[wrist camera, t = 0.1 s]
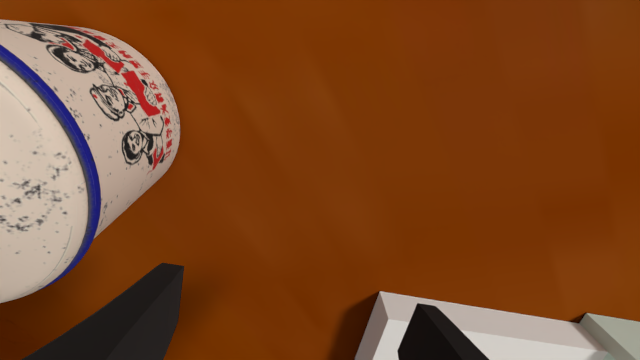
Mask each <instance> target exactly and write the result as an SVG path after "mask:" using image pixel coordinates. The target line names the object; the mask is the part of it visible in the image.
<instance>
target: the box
mask: <svg viewBox="0 0 640 360" xmlns="http://www.w3.org/2000/svg"><path fill="white" fill-rule="evenodd" d="M579 324H580V325H581V326H582V327H583V328H584V329H585V330H586V331H587V332H588V333H589V334H590V335H591V336H592V337H593V338H594V339H595V340H596V341H597V342H598V343H600V344H601V345H602V346H603V347H604V348H605V349H606V350H607V351H608V353H607V355H606V356H605V357H604V359H603V360H640V322H637V321H631V320H625V319H619V318H613V317H607V316H601V315H595V314H589V313H586V314H585V315H584V317H583V319H582V320H581V322H580V323H579Z"/></svg>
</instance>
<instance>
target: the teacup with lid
mask: <svg viewBox="0 0 640 360" xmlns="http://www.w3.org/2000/svg"><path fill="white" fill-rule="evenodd" d="M179 140H180V120H179V114H178V110H177V106H176V103H175V100H174V98H173V95H172V93H171V91H170V89H169V87H168V86H167V84H166V82H165V80H164V79H163V78H162V76H161V75H160V73H159V72H158V71H157V70H156V68H155V67H154V66H153V65H152V64H151V63H150V62H149V61H148V60H147V59H146V58H145V57H144V56H143V55H142V54H140V53H139V52H138V51H137V50H135V49H134V48H132V47H131V46H129V45H128V44H126V43H125V42H123V41H121V40H119V39H117V38H115V37H113V36H111V35H108V34H106V33H103V32H100V31H96V30H93V29H88V28H82V27H72V26H62V25H52V24H41V23H31V22H21V21H10V20H0V303H3V302H7V301H11V300H15V299H18V298H21V297H24V296H26V295H29V294H31V293H33V292H35V291H38V290H40V289H43V288H45V287H47V286H49V285H51V284H52V283H54V282H56V281H57V280H59V279H60V278H62V277H63V276H65V275H66V274H67V273H68V272H69V271H70V270H72V269H73V268H74V267H75V266H76V265H77V263H78V262H79V261H80V260H81V259H82V258H83V256H84V255H85V253H86V252H87V250H88V249H89V247H90V245H91V243H92V241H93V239H94V238H95V237H96V236H97V235H98V234H100V233H101V232H102V231H103V230H104V229H105V228H106V227H107V226H108V225H109V224H110V223H112V222H113V221H114V220H115V219H116V218H117V217H118V216H119V215H120V214H121V213H122V212H124V211H125V210H126V209H127V208H128V207H129V206H130V205H131V204H132V203H133V202H135V201H136V200H137V199H138V198H139V197H140V196H141V195H142V194H143V193H144V192H145V191H147V190H148V189H149V188H150V187H151V186H152V185H153V184H154V183H155V182H156V181H157V180H159V179H160V178H161V177H162V176H163V175H164V173H165V172H166V171H167V170H168V168H169V167H170V165H171V163H172V162H173V160H174V158H175V155H176V153H177V149H178V146H179Z"/></svg>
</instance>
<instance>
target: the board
mask: <svg viewBox="0 0 640 360" xmlns="http://www.w3.org/2000/svg"><path fill="white" fill-rule="evenodd" d="M417 303H420V304H426V305H433V306H436V307H437V308H438V309H439V310H440V311H442V312H443V313H444V314H445V315H446V316H447V317H448V318H449V319H450V320H451V321H452V322H453V323H454V324H455V325H456V326H457V327H458V328H459V329H460V330H461V331H462V332H463V333H464V334H465V335H466V336H467V337H468V338H469V339H470V340H471V342H472V343H473V344H474V345H475V346H476V347H477V348H478V349H479V350H480V351H481V352H482V353H483V354H484V355H485V356H486V357H487V358H488V359H489V360H603V359H604V357H605V356H606V355H607V353H608V351H607V350H606V349H605V348H604V347H603V346H602V345H601V344H600V343H598V342H597V341H596V340H595V339H594V338H593V337H592V336H591V335H590V334H589V333H588V332H587V331H586V330H585V329H584V328H583V327H582V326H581V325H580V324H579V323H573V322H567V321H561V320H555V319H548V318H542V317H536V316H530V315H524V314H518V313H511V312H505V311H499V310H493V309H487V308H480V307H474V306H468V305H462V304H456V303H449V302H443V301H437V300H431V299H425V298H418V297H412V296H406V295H400V294H394V293H387V292H381V291H380V292H379V294H378V297H377V300H376V303H375V305H374V308H373V311H372V313H371V316H370V319H369V322H368V324H367V327H366V330H365V332H364V335H363V338H362V341H361V343H360V346H359V349H358V351H357V354H356V357H355V360H399V358H398V352H397V351H398V348H399V346H400V343H401V341H402V339H403V336H404V334H405V331H406V329H407V327H408V324H409V322H410V320H411V317H412V315H413V312H414V310H415V308H416V305H417Z"/></svg>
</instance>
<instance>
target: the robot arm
mask: <svg viewBox="0 0 640 360" xmlns="http://www.w3.org/2000/svg"><path fill="white" fill-rule="evenodd" d="M183 271H184V266H179V265H173V264H167V263H161V264H159V265H158V266H157V267H155V268H154V269H153V270H151V271H150V272H149V273H148V274H146V275H145V276H144V277H143V278H141V279H140V280H139V281H137V282H136V283H135V284H134V285H132V286H131V287H130V288H128V289H127V290H126V291H124V292H123V293H122V294H120V295H119V296H118V297H116V298H115V299H113V300H112V301H111V302H109V303H108V304H107V305H105V306H104V307H102V308H101V309H100V310H98V311H97V312H95V313H94V314H93V315H91V316H90V317H88V318H87V319H85V320H84V321H82V322H81V323H79V324H78V325H76V326H75V327H73V328H72V329H70V330H69V331H67V332H66V333H64V334H63V335H61V336H60V337H58V338H56V339H55V340H53V341H52V342H50V343H48V344H47V345H45V346H43V347H42V348H40V349H39V350H37V351H35V352H34V353H32V354H30V355H28V356H27V357H25V358H23V359H22V360H163V358H164V356H165V354H166V351H167V349H168V346H169V344H170V341H171V338H172V336H173V333H174V330H175V328H176V325H177V322H178V317H179V307H180V298H181V289H182V280H183ZM397 352H398V358H399V360H489V359H488V358H487V357H486V356H485V355H484V354H483V353H482V352H481V351H480V350H479V349H478V348H477V347H476V346H475V345H474V344H473V343H472V342H471V340H470V339H469V338H468V337H467V336H466V335H465V334H464V333H463V332H462V331H461V330H460V329H459V328H458V327H457V326H456V325H455V324H454V323H453V322H452V321H451V320H450V319H449V318H448V317H447V316H446V315H445V314H444V313H443V312H442V311H440V310H439V309H438V308H437V307H436V306H433V305H426V304H420V303H417V305H416V308H415V310H414V312H413V315H412V317H411V320H410V322H409V324H408V327H407V329H406V331H405V334H404V336H403V339H402V341H401V343H400V346H399V348H398V351H397Z"/></svg>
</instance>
